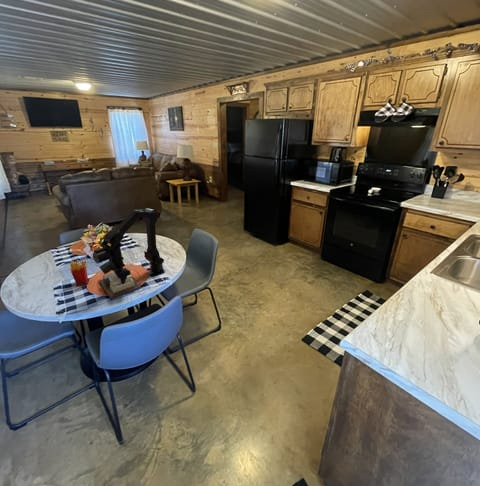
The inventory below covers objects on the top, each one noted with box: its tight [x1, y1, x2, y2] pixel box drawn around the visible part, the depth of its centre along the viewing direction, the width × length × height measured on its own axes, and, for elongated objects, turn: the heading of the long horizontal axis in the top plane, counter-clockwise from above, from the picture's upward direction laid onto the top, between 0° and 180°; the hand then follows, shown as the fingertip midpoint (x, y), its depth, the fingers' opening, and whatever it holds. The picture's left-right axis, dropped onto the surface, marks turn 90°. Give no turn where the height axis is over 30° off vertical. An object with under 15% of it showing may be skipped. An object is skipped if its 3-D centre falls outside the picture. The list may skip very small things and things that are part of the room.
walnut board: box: [98, 276, 142, 300], centre depth 148 cm, size 16×22×1 cm
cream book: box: [109, 274, 133, 286], centre depth 142 cm, size 10×6×2 cm, turn 131°
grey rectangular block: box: [102, 271, 116, 284], centre depth 151 cm, size 12×5×4 cm, turn 131°
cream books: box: [110, 279, 134, 293], centre depth 143 cm, size 11×6×4 cm, turn 131°
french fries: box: [69, 259, 89, 287], centre depth 146 cm, size 9×8×15 cm
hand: (121, 281), depth 143 cm, fingers closed on cream book, 6 cm apart
